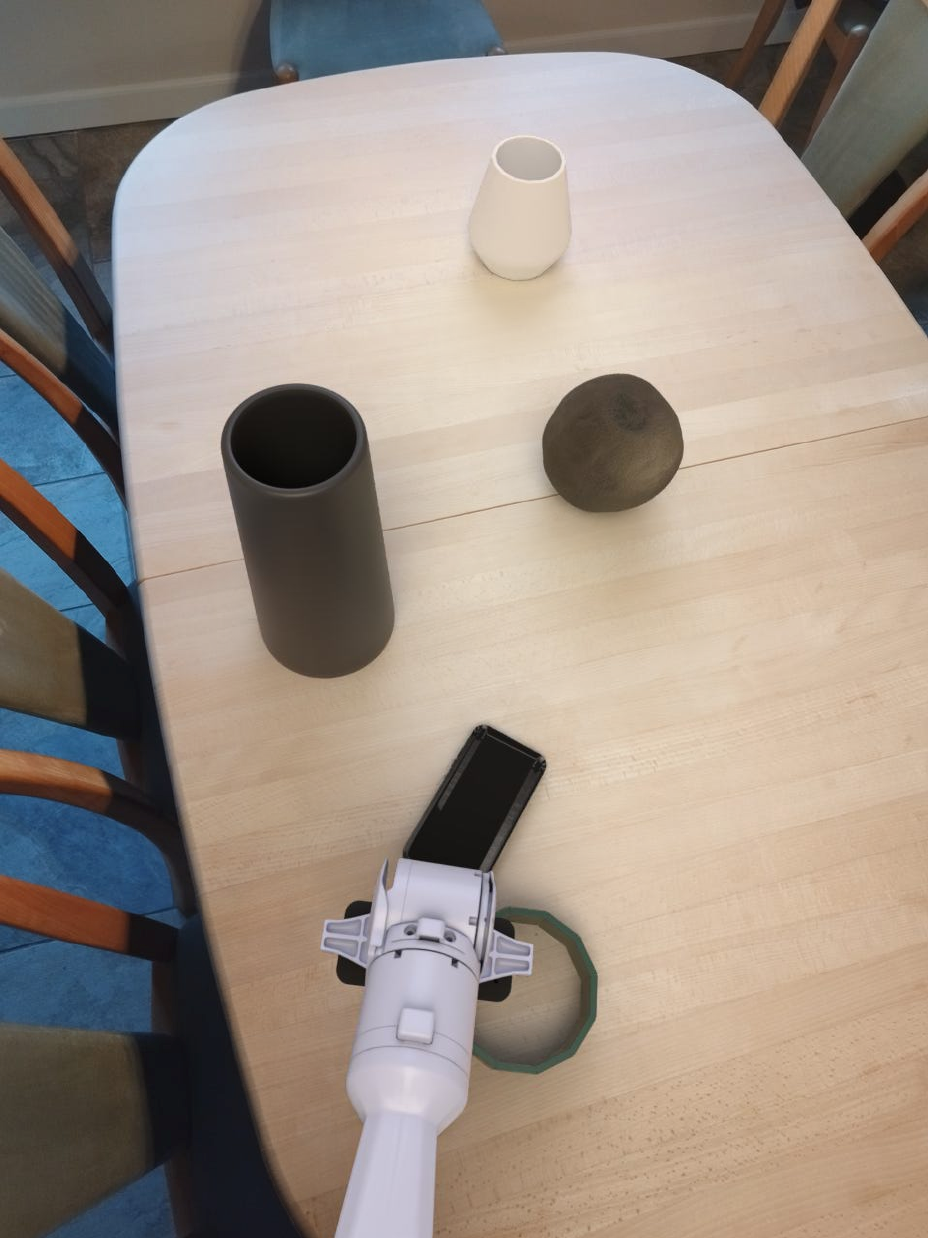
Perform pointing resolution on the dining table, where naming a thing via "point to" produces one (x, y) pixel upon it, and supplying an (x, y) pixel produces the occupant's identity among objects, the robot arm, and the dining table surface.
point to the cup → (522, 209)
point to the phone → (477, 802)
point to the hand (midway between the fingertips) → (425, 960)
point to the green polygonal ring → (586, 995)
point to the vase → (309, 528)
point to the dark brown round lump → (612, 444)
